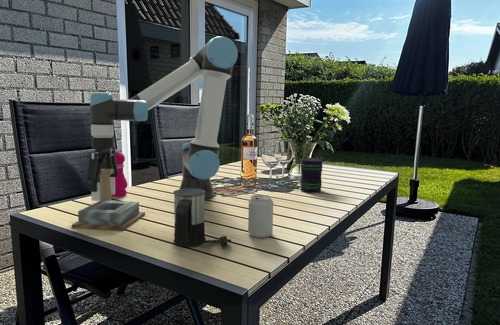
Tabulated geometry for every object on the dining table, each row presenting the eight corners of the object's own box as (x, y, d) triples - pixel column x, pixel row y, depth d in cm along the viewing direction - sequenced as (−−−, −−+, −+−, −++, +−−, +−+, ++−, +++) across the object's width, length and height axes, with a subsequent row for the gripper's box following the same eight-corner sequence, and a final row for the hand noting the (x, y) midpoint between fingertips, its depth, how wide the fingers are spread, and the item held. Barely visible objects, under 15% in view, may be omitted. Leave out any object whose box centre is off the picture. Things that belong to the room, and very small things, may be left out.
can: (247, 230, 114) (247, 193, 112) (270, 230, 115) (271, 193, 113) (249, 239, 107) (249, 199, 105) (274, 238, 107) (275, 199, 106)
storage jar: (320, 188, 175) (321, 158, 173) (322, 193, 165) (323, 161, 163) (299, 188, 176) (300, 157, 174) (300, 192, 166) (301, 160, 164)
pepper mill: (122, 197, 152) (120, 150, 149) (106, 196, 154) (104, 149, 151) (131, 193, 159) (129, 148, 156) (116, 192, 161) (114, 147, 158)
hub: (145, 214, 129) (144, 201, 128) (122, 230, 112) (122, 215, 111) (100, 212, 131) (99, 198, 130) (71, 227, 114) (70, 212, 113)
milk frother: (173, 236, 108) (172, 188, 106) (225, 233, 111) (225, 186, 109) (174, 255, 94) (173, 200, 92) (233, 251, 98) (234, 198, 95)
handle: (117, 209, 136) (116, 169, 133) (102, 212, 130) (100, 171, 128) (110, 206, 138) (108, 168, 136) (94, 210, 133) (92, 170, 131)
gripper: (108, 134, 141) (109, 190, 144) (73, 138, 119) (75, 203, 122) (126, 135, 141) (127, 191, 143) (95, 138, 118) (97, 205, 121)
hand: (104, 197), depth 133 cm, fingers open, 10 cm apart
